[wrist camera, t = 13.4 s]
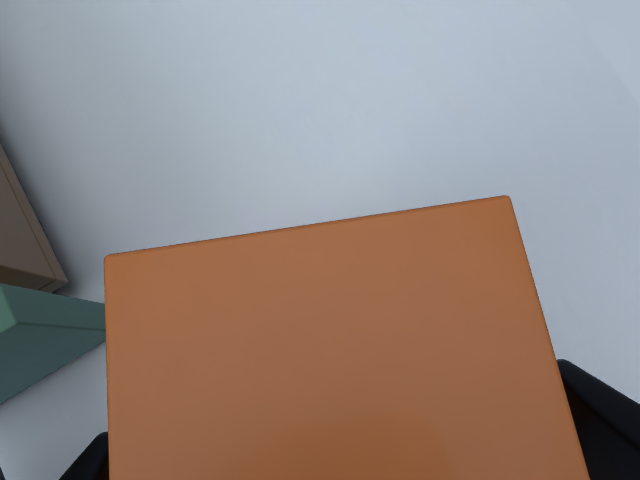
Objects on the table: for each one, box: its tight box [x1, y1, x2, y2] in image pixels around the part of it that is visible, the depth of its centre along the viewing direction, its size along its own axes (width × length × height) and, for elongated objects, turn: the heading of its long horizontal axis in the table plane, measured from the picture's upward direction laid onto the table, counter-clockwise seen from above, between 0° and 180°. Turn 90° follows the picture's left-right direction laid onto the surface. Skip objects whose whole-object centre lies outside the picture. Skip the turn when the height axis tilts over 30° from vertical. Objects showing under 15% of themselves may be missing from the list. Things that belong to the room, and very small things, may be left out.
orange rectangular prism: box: [104, 195, 590, 480], centre depth 10 cm, size 4×5×11 cm
